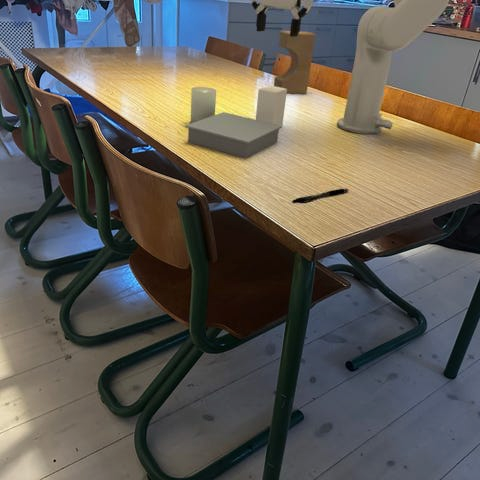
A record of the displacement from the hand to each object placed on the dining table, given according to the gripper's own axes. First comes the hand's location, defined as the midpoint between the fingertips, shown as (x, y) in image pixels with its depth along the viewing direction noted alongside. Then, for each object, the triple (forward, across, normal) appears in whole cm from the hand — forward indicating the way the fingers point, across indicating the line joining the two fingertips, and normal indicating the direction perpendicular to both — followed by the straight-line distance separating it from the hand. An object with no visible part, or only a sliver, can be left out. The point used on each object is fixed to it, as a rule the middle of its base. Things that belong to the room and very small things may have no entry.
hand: (276, 33), depth 122 cm
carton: (+24, -1, +1) cm, 24 cm away
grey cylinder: (+23, +12, +14) cm, 30 cm away
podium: (+23, -2, +20) cm, 31 cm away
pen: (+24, -33, +35) cm, 54 cm away
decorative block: (+24, +15, -42) cm, 51 cm away
